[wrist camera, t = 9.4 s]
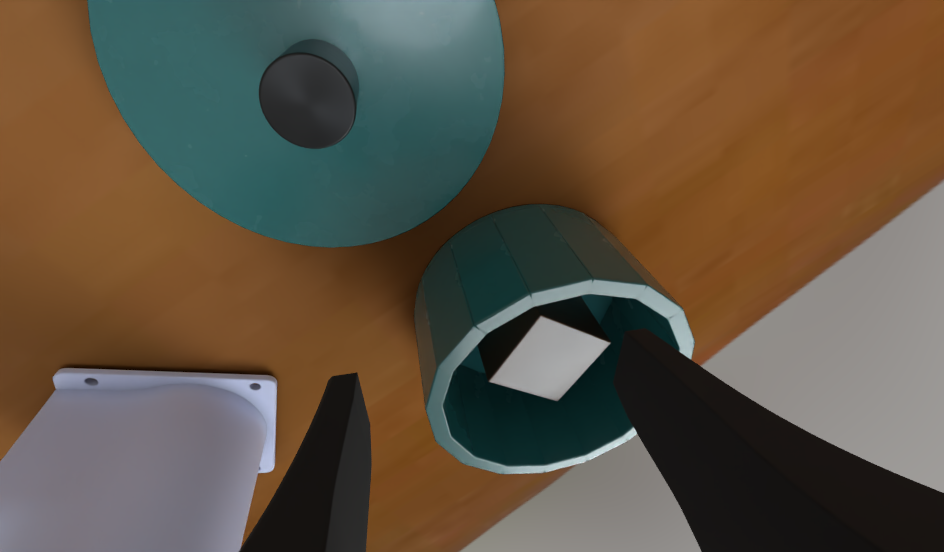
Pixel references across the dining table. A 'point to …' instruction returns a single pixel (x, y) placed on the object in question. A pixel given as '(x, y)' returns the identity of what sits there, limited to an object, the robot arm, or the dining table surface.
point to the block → (544, 348)
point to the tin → (509, 295)
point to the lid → (308, 106)
